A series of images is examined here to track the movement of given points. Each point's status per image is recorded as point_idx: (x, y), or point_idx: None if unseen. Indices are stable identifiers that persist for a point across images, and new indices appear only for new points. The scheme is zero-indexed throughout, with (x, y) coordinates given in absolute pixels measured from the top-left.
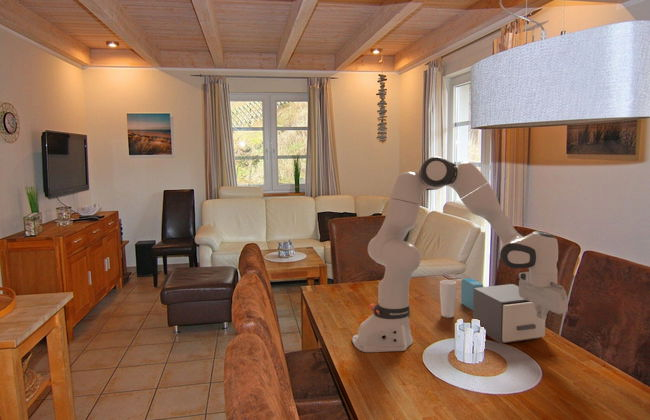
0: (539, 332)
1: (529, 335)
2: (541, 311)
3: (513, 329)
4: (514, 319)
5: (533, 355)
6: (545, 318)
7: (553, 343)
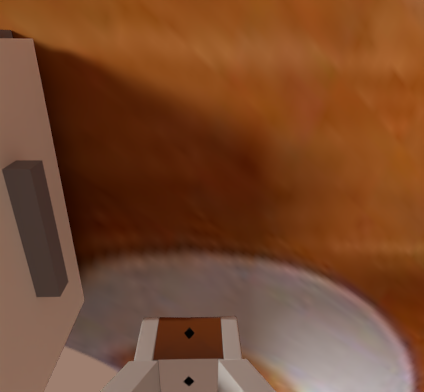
0: (25, 90)
1: (49, 169)
2: (156, 369)
3: (50, 302)
4: (15, 355)
5: (220, 236)
6: (234, 323)
7: (110, 25)
